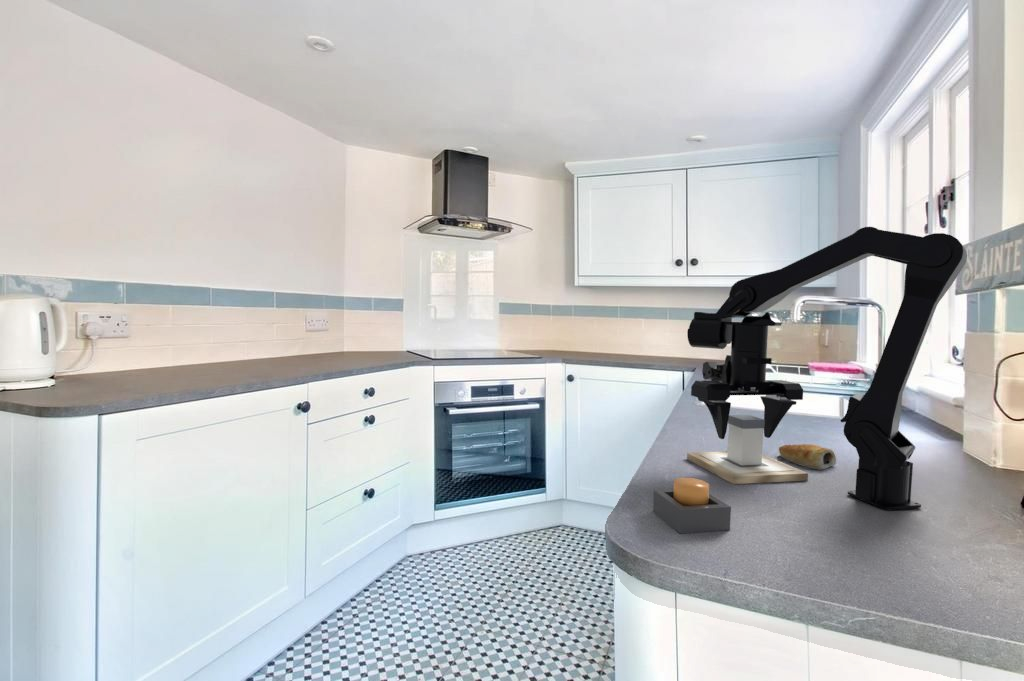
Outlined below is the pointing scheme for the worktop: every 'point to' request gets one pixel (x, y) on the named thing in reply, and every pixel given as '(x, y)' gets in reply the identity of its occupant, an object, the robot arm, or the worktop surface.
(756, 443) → the two-tone grey block
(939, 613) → the worktop surface
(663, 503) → the button housing
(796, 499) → the worktop surface
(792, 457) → the pastry
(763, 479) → the picture frame
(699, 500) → the button
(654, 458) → the worktop surface
